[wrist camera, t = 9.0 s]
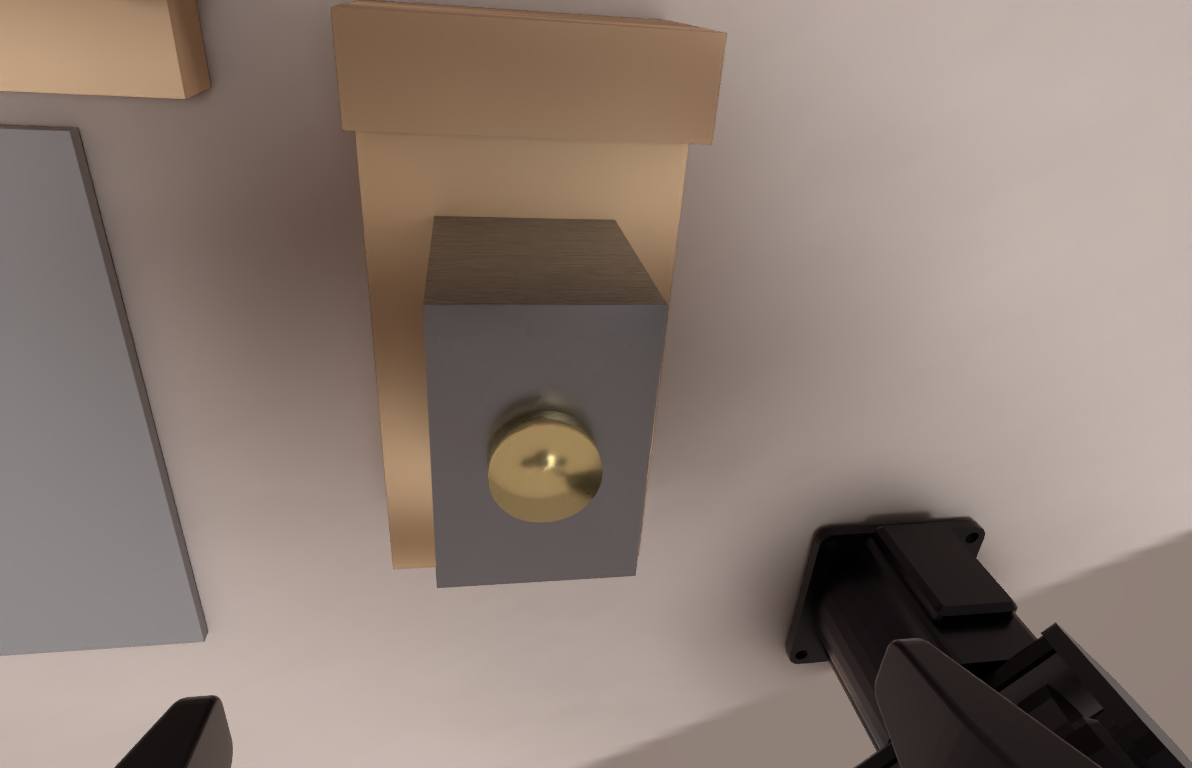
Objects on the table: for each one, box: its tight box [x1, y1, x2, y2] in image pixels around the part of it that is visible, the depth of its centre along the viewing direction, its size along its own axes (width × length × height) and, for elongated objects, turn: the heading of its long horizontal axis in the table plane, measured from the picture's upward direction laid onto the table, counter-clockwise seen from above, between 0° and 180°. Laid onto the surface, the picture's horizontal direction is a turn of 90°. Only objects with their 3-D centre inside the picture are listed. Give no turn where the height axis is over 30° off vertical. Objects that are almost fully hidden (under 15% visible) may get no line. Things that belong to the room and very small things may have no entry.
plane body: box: [331, 0, 727, 569], centre depth 18 cm, size 14×7×5 cm, turn 176°
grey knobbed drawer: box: [423, 216, 668, 588], centre depth 15 cm, size 6×4×6 cm, turn 176°
